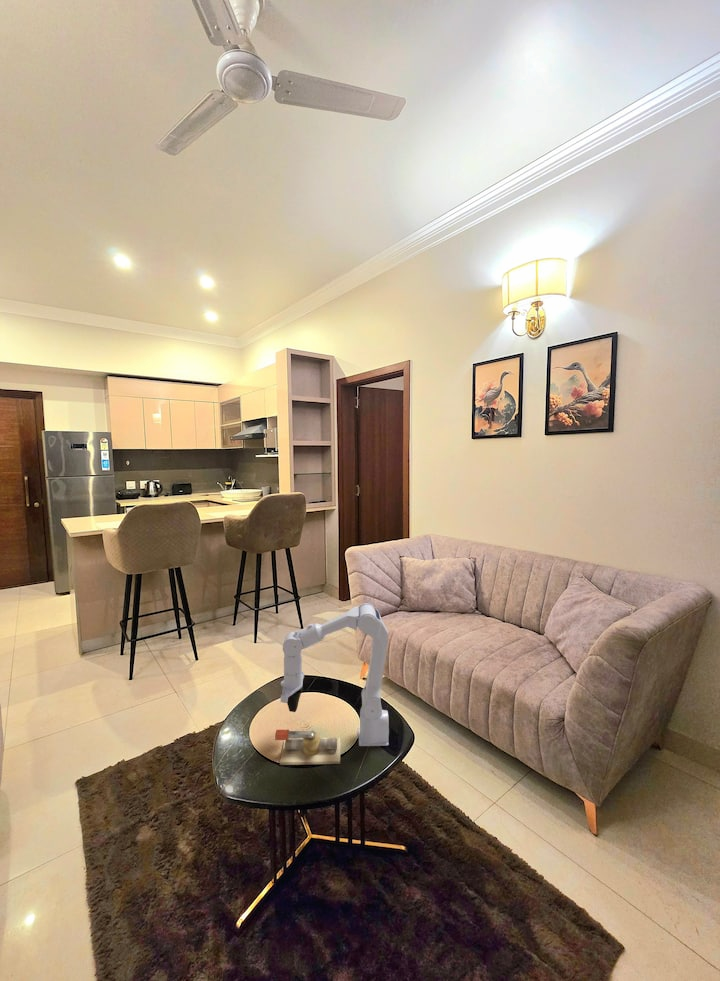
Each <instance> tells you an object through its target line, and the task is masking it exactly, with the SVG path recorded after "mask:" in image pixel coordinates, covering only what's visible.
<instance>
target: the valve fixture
mask: <svg viewBox="0 0 720 981" xmlns="http://www.w3.org/2000/svg"><path fill="white" fill-rule="evenodd" d="M314 732H315V738H314V739H308V738H289V739H288V740H283V746H282V750H281V754H280V755H281V756H280V760H279V766H295V765H297V766H298V765H300V766H301V765H302V766H303V765H335V764H336V765H340V764H341V737H321V736H320V734H319V733H318V732H316V731H314Z"/></svg>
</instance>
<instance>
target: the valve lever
mask: <svg viewBox="0 0 720 981" xmlns="http://www.w3.org/2000/svg"><path fill="white" fill-rule="evenodd" d="M315 732H316V731H314V730H290V729H276V730H275V734H274V737H275V738H274V739H275V741H284V740H288V739H289V738H308V739H314V738H315Z"/></svg>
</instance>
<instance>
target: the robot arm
mask: <svg viewBox="0 0 720 981" xmlns="http://www.w3.org/2000/svg"><path fill="white" fill-rule="evenodd" d="M345 628H350V629H352V630H355V631H357V630H358V629H359V631H361V633H364V635H365V634H366V635H367V636H369V637H370V638H372V642H371V643H372V644H371V649H370V650H371V651H370V658H369V663H368V665H369V666H368V670H367V672H368V673H367V679H366V681H365V685H364V687H363V688H362V690H361V693H360V695H361V704H362V705H361V707H360V709H359V728H357V729H358V730H357V731H358V732H357V733H358V746H359V747H381V746H383V747H384V746H387V747H388V746H389V745H390V744H389V735H390V728H389V727H390V726H389V724H390V723H389V719H390V718H389V712H388V710H386V709H383V708H382V703H381V700H382V699H381V698H382V685H383V684H382V682H383V675H384V669H385V665H386V664H385V662H386V655H387V648H388V643H389V642H388V641H389V631H388V628H387V626H386V624H385V622H384V620H383V618H382V617H381V614H380V611H379V610H378V609H377V608H376V607H375V606H374V605H373V604H372V603H369V602H364V603H362V604H360V605H357V606H354V607H352V608H350V609H349V610H348V611H345V612H343V613H341V614H340V615H338V616H336V617H334V618H332V619H330V620H328V621H326V622H324V623H323V624H320V623H317V622H316V623H308V625H307V627H305V628H302V629H300V630H295V631H291V632H289V633H287V634H286V636H285V638H284V642H283V644H282V651H283V656H284V657H283V680H282V681H280V686H281V687H282V690H281V691H282V693H281V695H280V703H283V704H286V705H287V707H288V710H289V712H292V713H296V711H297V710H298V706H299V701H300V698H301V695H302V693H303V690H304V686H303V681H304V678H305V672H304V671H303V660H302V659H303V656H302V651H303V650H304V649H307V648H309V647H311V646H314V645H315V644H318V643H320V642H323V641H324V638H325V636H327V635H329V634H332V633H334V632H337V631H340V630H342V629H345Z"/></svg>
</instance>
